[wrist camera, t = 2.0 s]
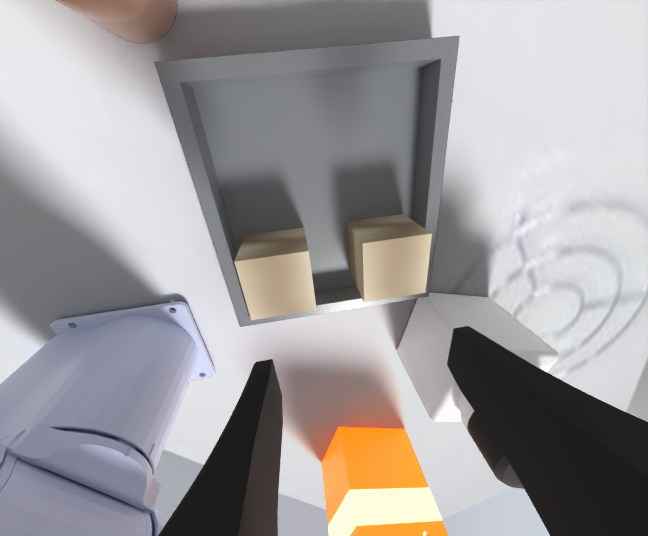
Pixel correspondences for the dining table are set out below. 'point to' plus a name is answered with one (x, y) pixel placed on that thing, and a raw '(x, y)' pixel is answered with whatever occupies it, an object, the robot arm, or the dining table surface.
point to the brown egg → (129, 16)
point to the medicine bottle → (432, 355)
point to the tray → (314, 149)
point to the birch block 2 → (388, 256)
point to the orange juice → (377, 486)
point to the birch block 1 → (276, 273)
